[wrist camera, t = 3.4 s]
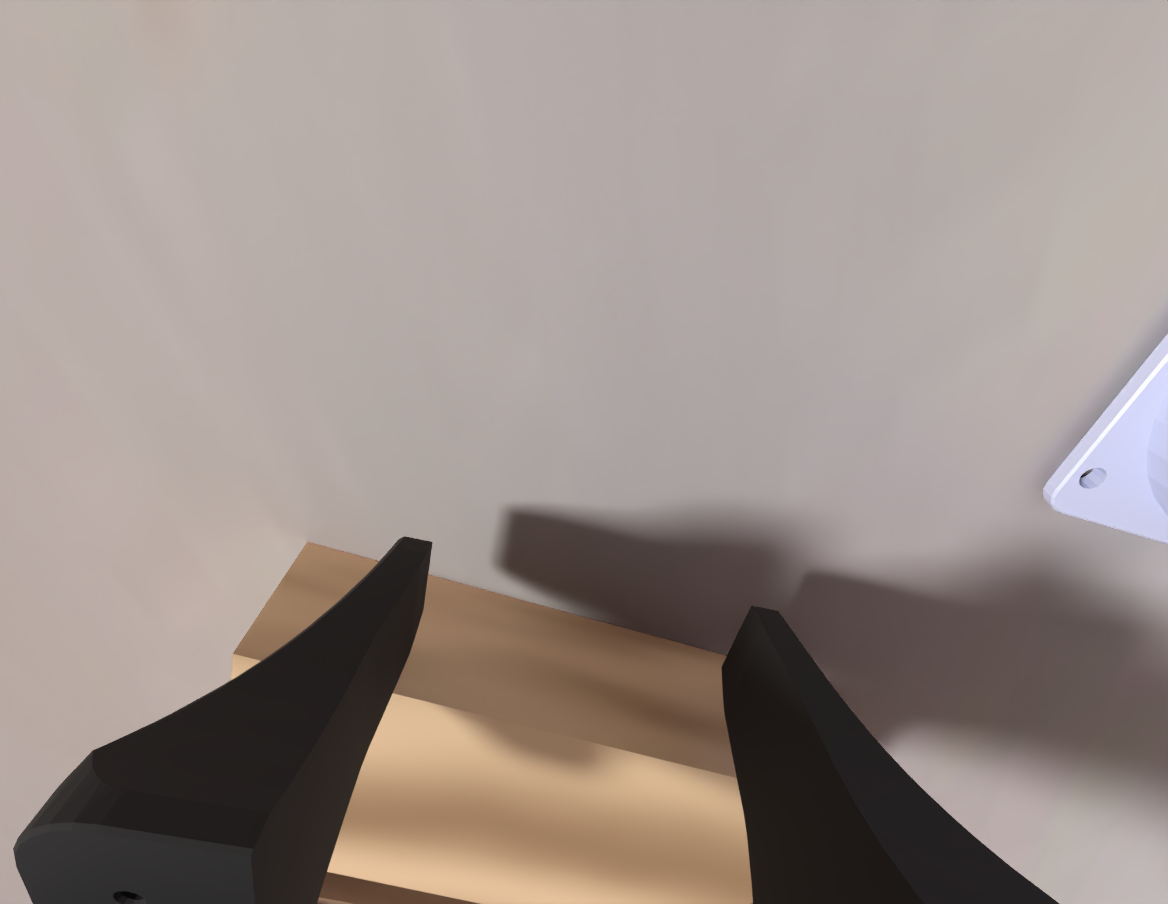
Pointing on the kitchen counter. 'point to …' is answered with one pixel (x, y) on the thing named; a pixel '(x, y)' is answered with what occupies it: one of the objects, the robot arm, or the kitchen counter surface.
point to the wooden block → (532, 753)
